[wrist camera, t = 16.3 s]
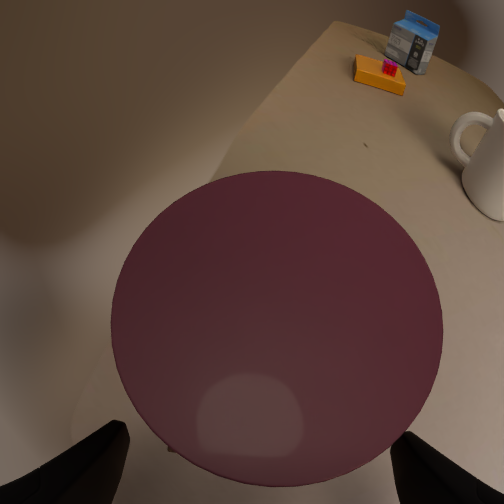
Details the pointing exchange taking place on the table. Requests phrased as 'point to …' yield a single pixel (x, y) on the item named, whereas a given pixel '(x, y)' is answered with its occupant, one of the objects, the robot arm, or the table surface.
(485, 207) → the mug
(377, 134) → the table surface
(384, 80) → the orange slab with cube
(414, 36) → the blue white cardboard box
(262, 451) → the maroon grooved cylinder
